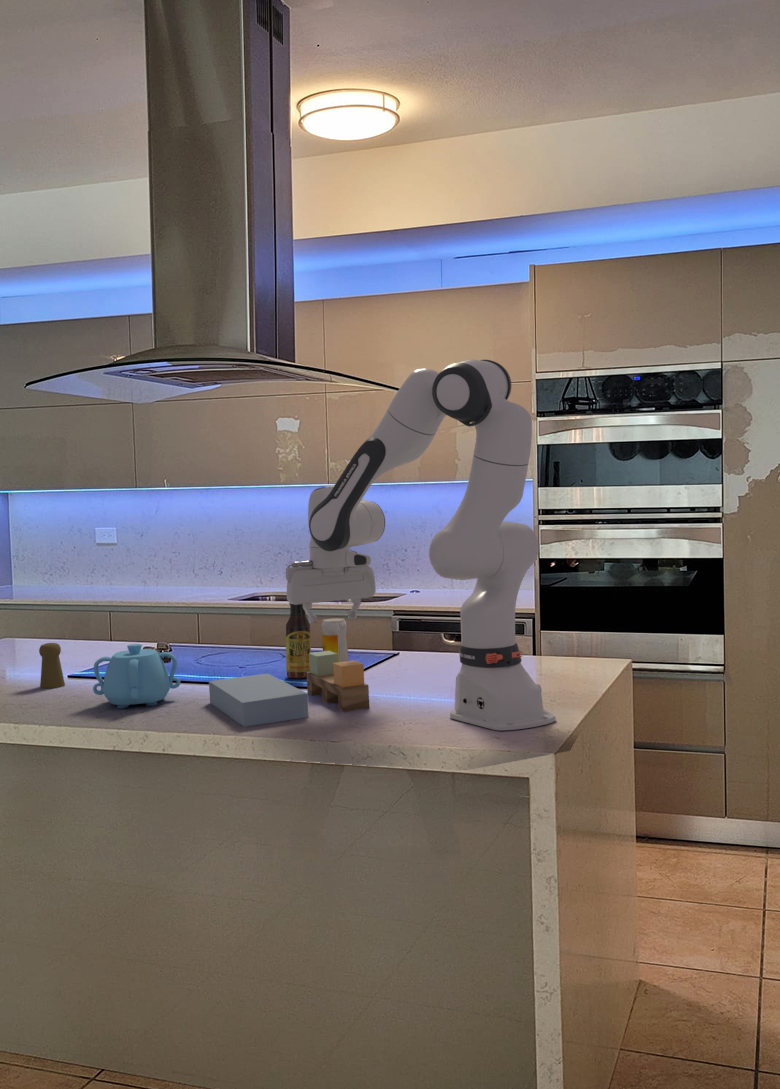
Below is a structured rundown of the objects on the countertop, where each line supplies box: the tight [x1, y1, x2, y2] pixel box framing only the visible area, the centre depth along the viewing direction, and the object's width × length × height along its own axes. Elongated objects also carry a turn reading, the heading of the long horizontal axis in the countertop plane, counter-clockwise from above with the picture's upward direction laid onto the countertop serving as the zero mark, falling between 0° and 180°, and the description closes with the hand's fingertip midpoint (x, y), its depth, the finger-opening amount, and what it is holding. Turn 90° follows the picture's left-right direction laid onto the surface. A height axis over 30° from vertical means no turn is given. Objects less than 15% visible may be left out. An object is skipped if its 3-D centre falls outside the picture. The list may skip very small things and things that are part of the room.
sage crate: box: [309, 650, 338, 676], centre depth 233 cm, size 5×5×4 cm
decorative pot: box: [92, 643, 181, 709], centre depth 234 cm, size 16×16×14 cm
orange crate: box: [333, 660, 365, 687], centre depth 220 cm, size 5×5×4 cm
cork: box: [38, 642, 66, 690], centre depth 257 cm, size 6×6×11 cm
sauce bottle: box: [285, 602, 312, 679], centre depth 254 cm, size 6×6×20 cm
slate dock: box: [208, 673, 309, 728], centre depth 221 cm, size 26×14×5 cm, turn 25°
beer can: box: [321, 617, 349, 662], centre depth 248 cm, size 6×6×15 cm
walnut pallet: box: [306, 672, 370, 713], centre depth 227 cm, size 22×6×5 cm, turn 25°
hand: (332, 621), depth 226 cm, fingers open, 8 cm apart
